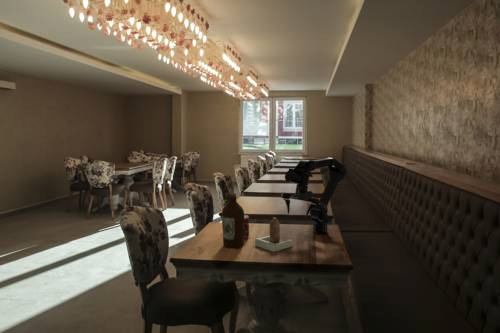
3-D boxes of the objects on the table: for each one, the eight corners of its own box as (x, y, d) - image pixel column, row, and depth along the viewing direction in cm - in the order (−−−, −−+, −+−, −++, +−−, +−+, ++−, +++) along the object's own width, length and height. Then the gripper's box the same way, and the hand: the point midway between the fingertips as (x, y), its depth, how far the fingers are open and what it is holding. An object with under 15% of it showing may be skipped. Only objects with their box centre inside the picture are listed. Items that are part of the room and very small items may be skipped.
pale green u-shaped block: (273, 240, 192) (273, 233, 192) (292, 246, 183) (292, 239, 183) (255, 245, 184) (255, 238, 184) (273, 251, 175) (273, 244, 175)
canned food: (236, 240, 193) (235, 218, 192) (232, 235, 201) (232, 214, 200) (250, 238, 195) (250, 217, 194) (246, 234, 203) (246, 214, 202)
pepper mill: (280, 244, 186) (280, 216, 185) (279, 247, 181) (279, 219, 180) (270, 243, 187) (270, 216, 186) (268, 246, 182) (268, 218, 181)
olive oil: (230, 241, 192) (230, 191, 189) (248, 244, 186) (248, 193, 183) (217, 246, 183) (216, 194, 180) (235, 250, 177) (235, 196, 175)
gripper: (286, 181, 187) (281, 213, 186) (324, 188, 188) (319, 220, 187) (283, 181, 198) (278, 211, 198) (319, 187, 199) (314, 217, 198)
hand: (297, 215), depth 195 cm, fingers open, 9 cm apart
